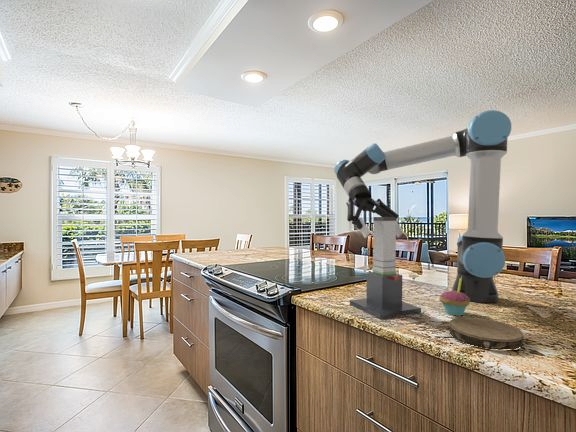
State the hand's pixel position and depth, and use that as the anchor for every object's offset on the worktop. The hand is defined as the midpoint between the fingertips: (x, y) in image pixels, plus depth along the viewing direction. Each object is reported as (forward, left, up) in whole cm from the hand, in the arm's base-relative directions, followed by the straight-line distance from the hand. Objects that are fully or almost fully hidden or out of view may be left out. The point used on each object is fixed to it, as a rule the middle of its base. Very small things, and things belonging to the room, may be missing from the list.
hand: (384, 234), depth 105 cm
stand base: (0, 0, -24) cm, 24 cm away
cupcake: (-21, -3, -25) cm, 32 cm away
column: (0, 0, -16) cm, 16 cm away
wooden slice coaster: (-26, +16, -25) cm, 39 cm away
